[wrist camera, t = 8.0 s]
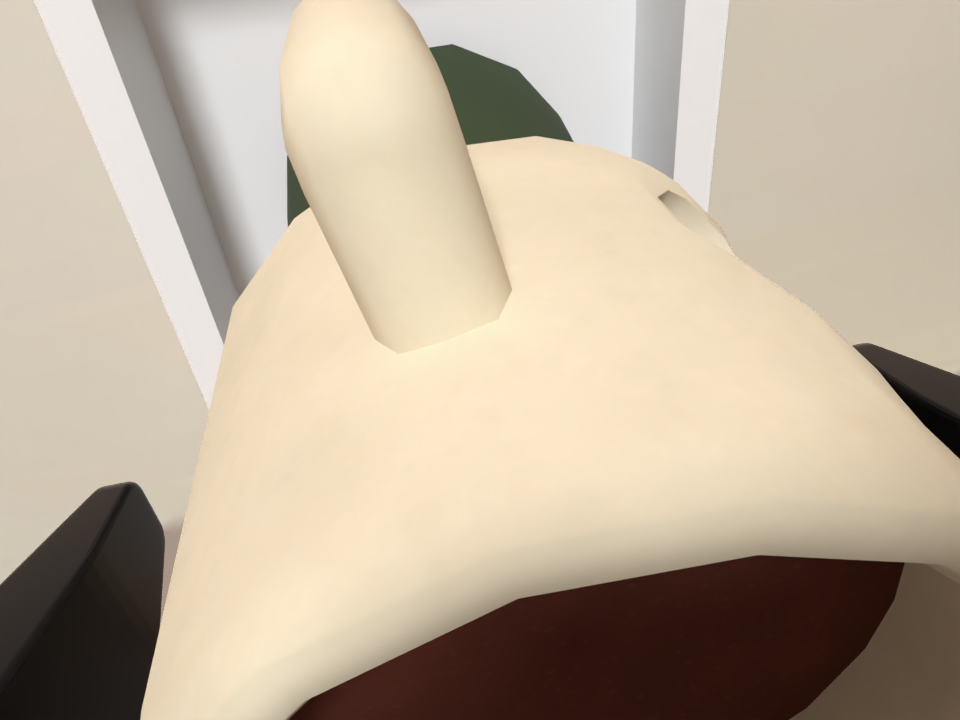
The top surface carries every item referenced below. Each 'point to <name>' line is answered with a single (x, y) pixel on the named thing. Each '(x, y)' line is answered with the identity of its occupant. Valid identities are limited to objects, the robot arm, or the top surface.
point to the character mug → (537, 440)
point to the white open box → (258, 129)
